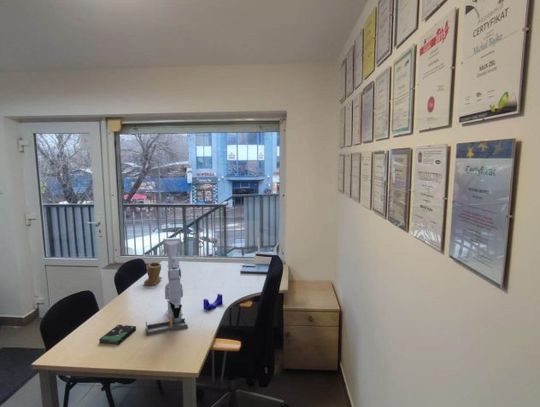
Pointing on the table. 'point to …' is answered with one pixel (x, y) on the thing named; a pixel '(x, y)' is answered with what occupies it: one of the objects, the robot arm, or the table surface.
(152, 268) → the brown boot
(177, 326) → the tray
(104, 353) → the table surface
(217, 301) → the cable clip
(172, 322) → the bar
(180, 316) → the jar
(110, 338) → the disk drive
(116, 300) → the table surface
